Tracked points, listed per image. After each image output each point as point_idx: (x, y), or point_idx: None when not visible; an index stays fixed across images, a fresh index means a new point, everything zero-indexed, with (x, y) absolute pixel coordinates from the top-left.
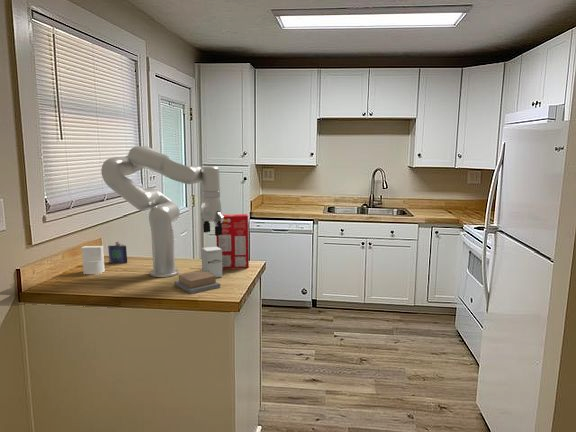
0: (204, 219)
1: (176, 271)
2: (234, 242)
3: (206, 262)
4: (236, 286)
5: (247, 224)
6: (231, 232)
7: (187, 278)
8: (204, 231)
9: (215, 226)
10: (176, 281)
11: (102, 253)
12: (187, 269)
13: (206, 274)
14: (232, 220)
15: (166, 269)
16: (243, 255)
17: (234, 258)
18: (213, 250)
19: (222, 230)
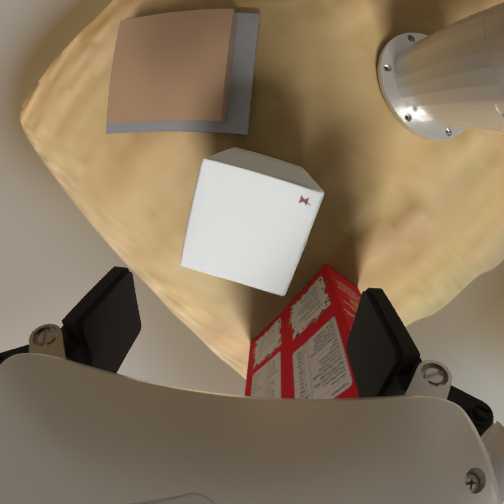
0: (327, 410)
1: (398, 107)
2: (282, 395)
3: (222, 151)
4: (92, 182)
5: None
6: None
7: (157, 18)
8: (366, 294)
9: (68, 327)
10: (251, 17)
11: None
12: (416, 182)
13: (147, 101)
14: None
15: (403, 58)
16: (258, 367)
17: (282, 338)
18: (191, 208)
19: None
